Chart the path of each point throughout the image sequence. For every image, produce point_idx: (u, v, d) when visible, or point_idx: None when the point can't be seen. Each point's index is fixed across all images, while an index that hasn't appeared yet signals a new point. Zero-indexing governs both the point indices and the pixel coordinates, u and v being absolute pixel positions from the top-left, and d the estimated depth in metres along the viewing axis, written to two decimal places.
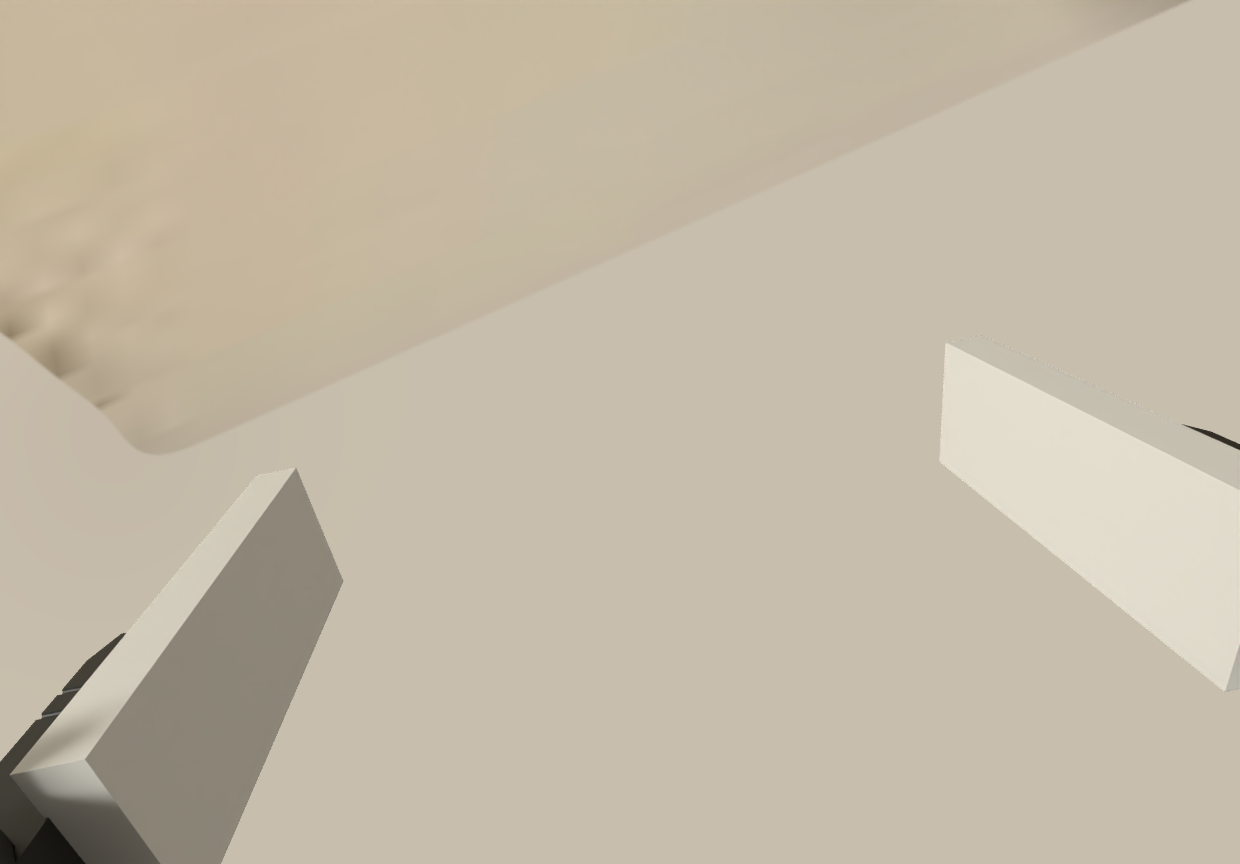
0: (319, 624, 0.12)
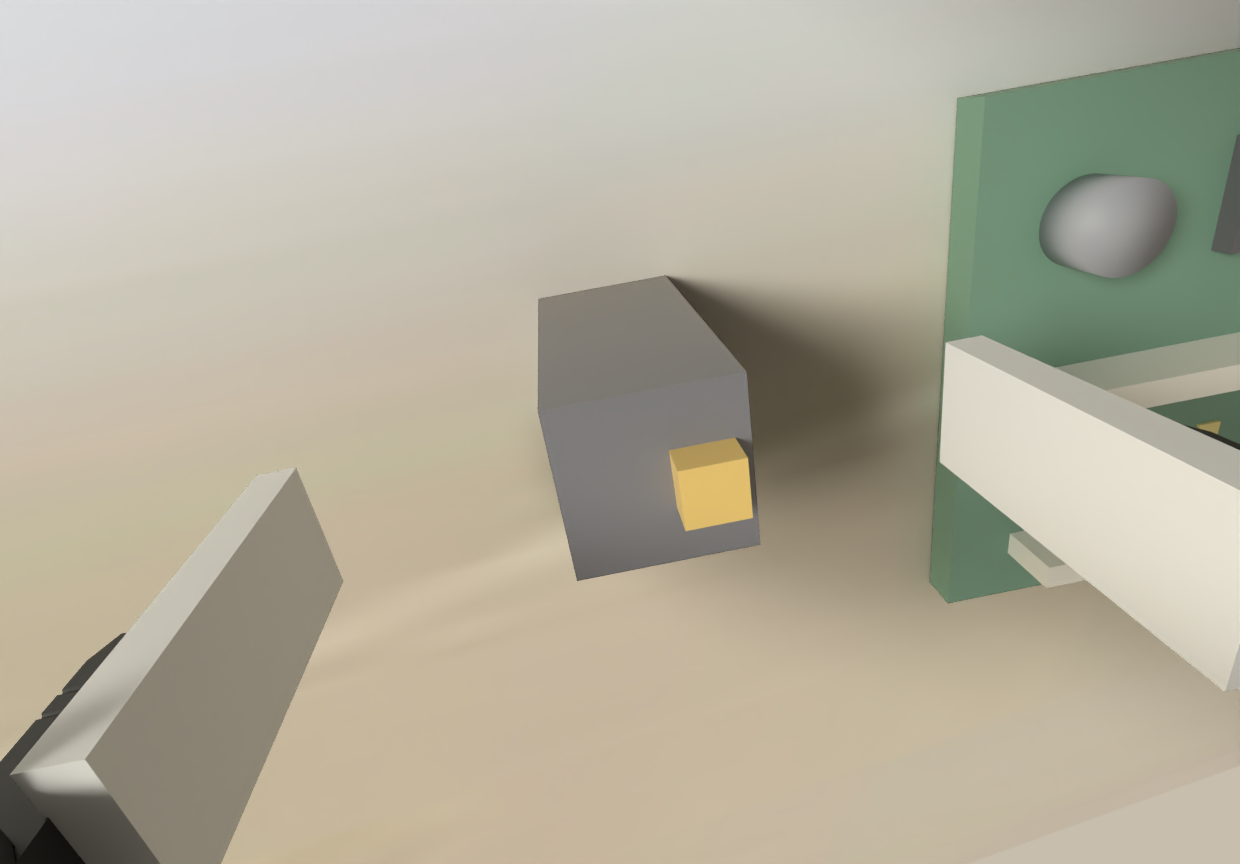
0: (319, 624, 0.12)
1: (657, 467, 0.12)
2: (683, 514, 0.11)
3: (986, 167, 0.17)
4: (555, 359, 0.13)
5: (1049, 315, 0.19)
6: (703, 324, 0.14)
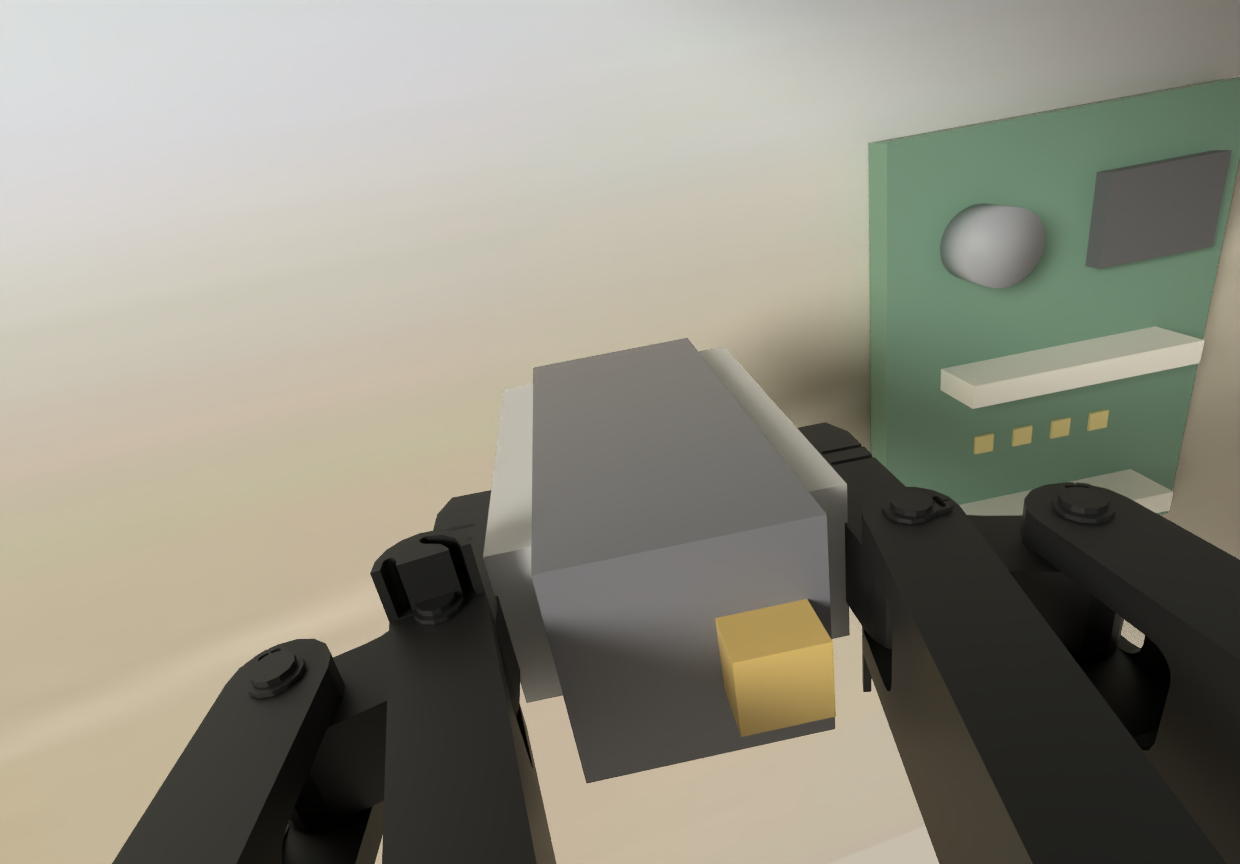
0: None
1: (698, 640, 0.08)
2: (738, 714, 0.08)
3: (892, 199, 0.21)
4: (555, 472, 0.10)
5: (954, 320, 0.23)
6: (748, 420, 0.11)
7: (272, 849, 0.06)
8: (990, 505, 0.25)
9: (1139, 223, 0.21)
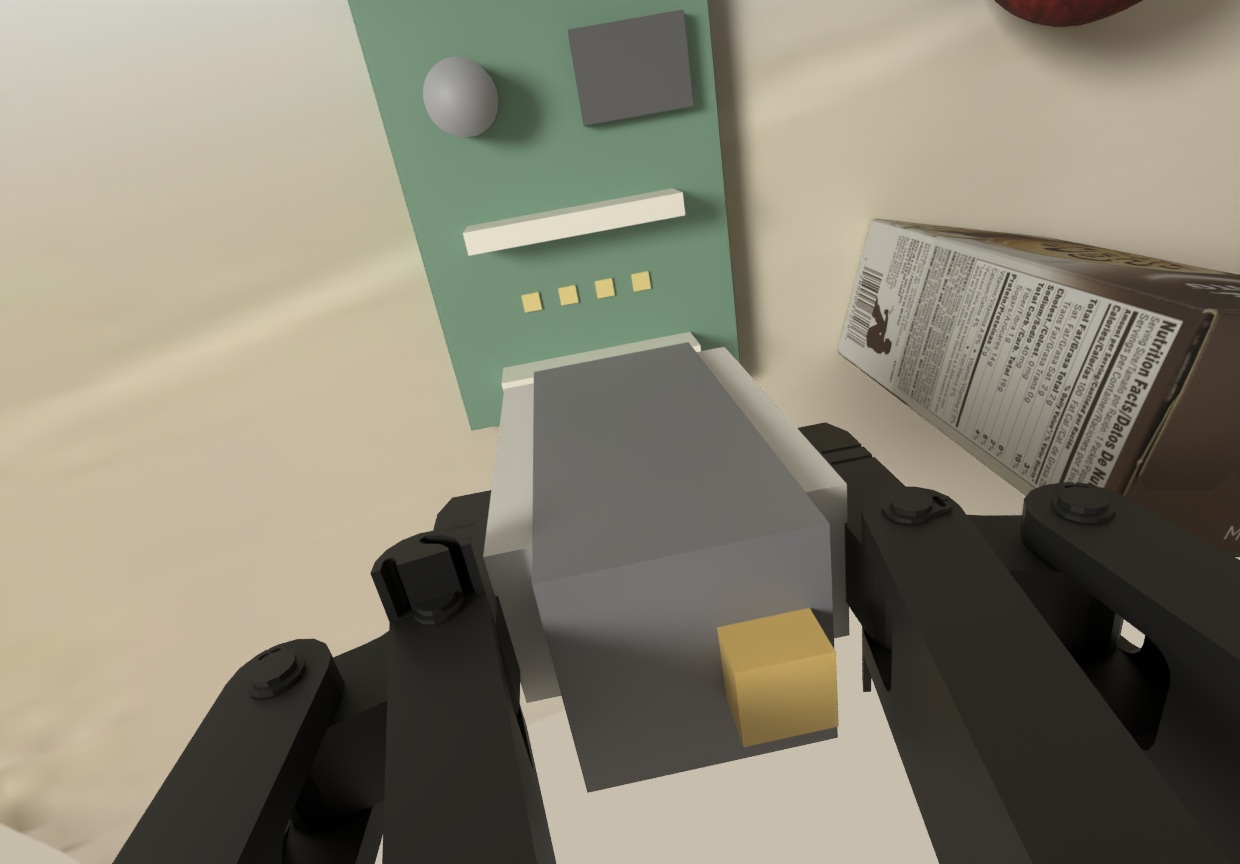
0: None
1: (700, 650, 0.08)
2: (740, 725, 0.08)
3: (368, 54, 0.23)
4: (556, 479, 0.10)
5: (466, 177, 0.25)
6: (749, 426, 0.11)
7: (273, 849, 0.06)
8: (548, 362, 0.27)
9: (611, 81, 0.23)
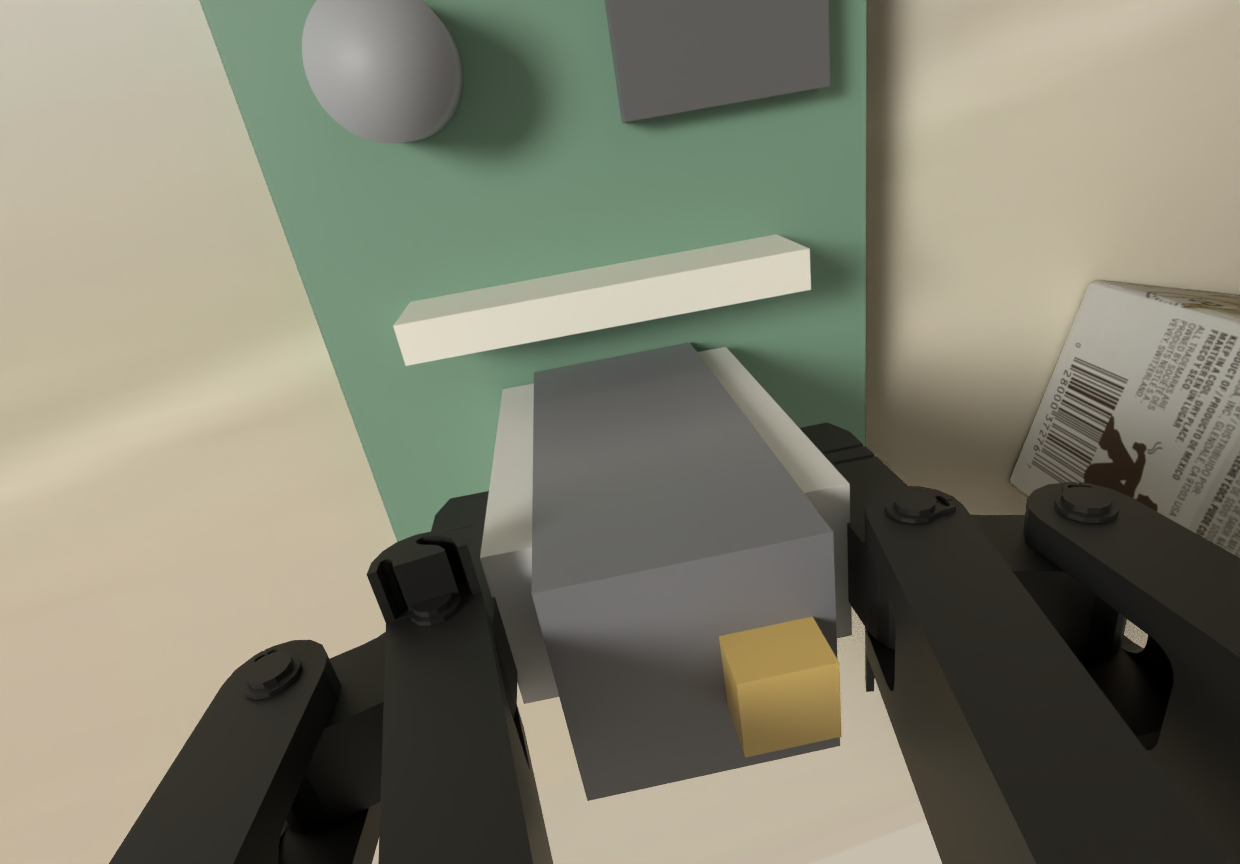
0: None
1: (702, 658, 0.08)
2: (742, 735, 0.08)
3: None
4: (556, 484, 0.10)
5: (406, 217, 0.13)
6: (752, 430, 0.11)
7: (267, 851, 0.06)
8: None
9: (680, 36, 0.12)
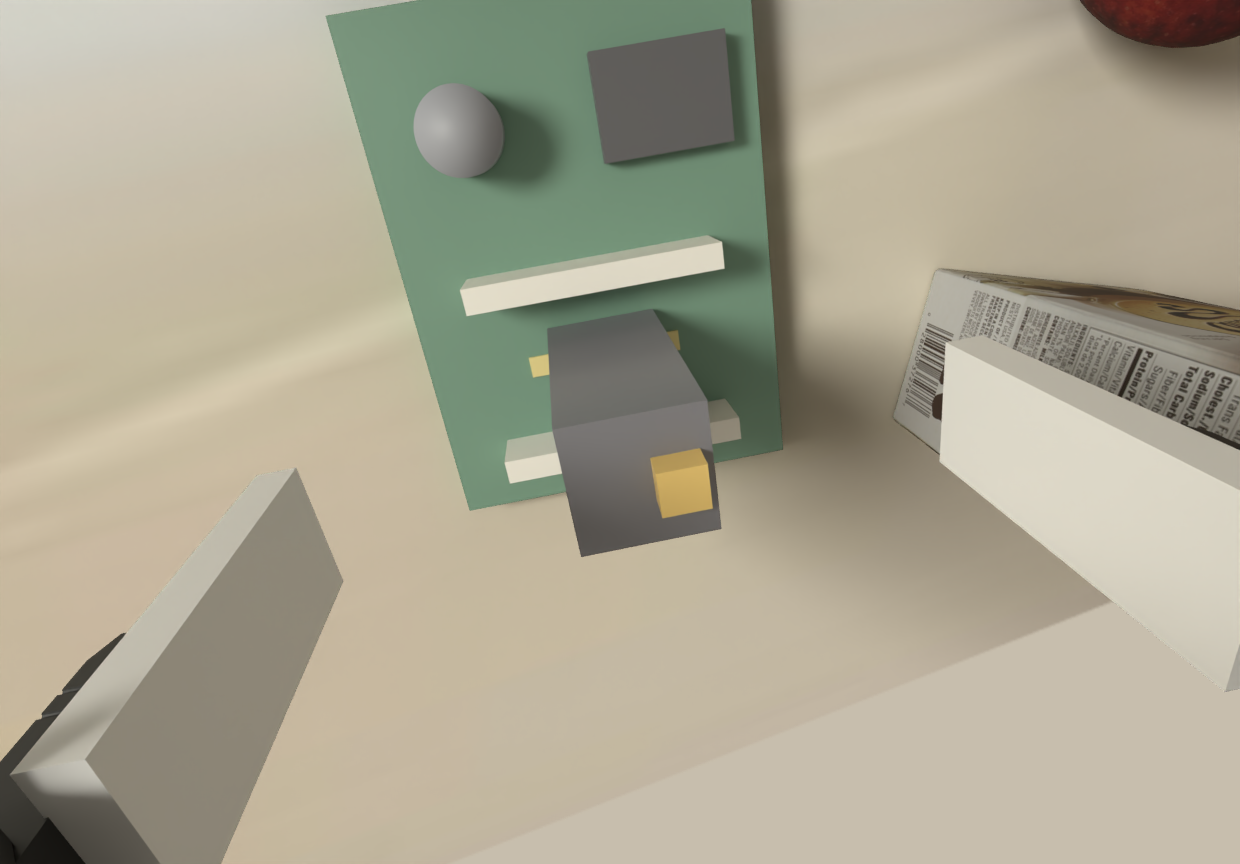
0: (319, 624, 0.12)
1: (641, 470, 0.16)
2: (660, 505, 0.15)
3: (351, 81, 0.19)
4: (563, 386, 0.17)
5: (466, 223, 0.21)
6: (679, 357, 0.18)
7: None
8: None
9: (638, 111, 0.20)
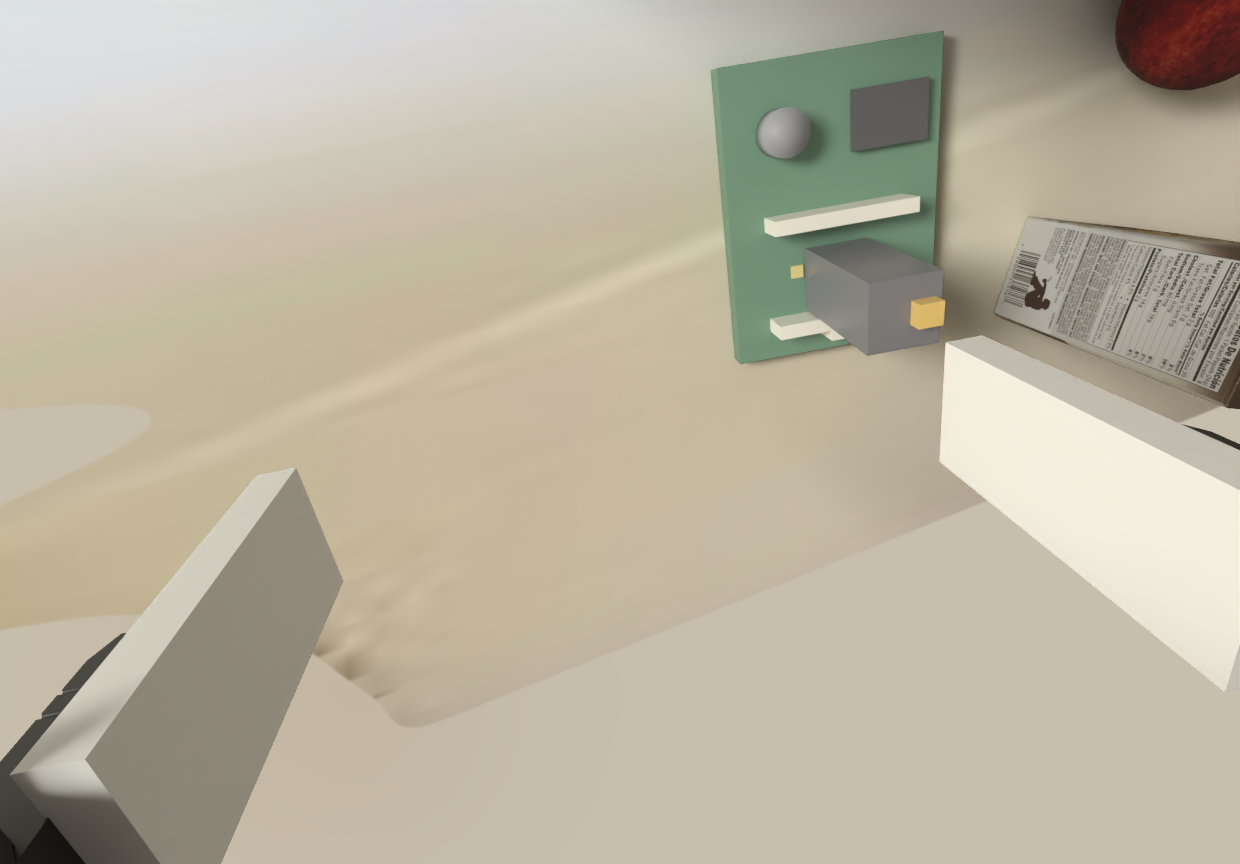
0: (319, 624, 0.12)
1: (906, 307, 0.31)
2: (918, 323, 0.31)
3: (722, 104, 0.34)
4: (853, 269, 0.33)
5: (769, 185, 0.36)
6: (909, 256, 0.33)
7: None
8: (804, 314, 0.39)
9: (877, 122, 0.35)
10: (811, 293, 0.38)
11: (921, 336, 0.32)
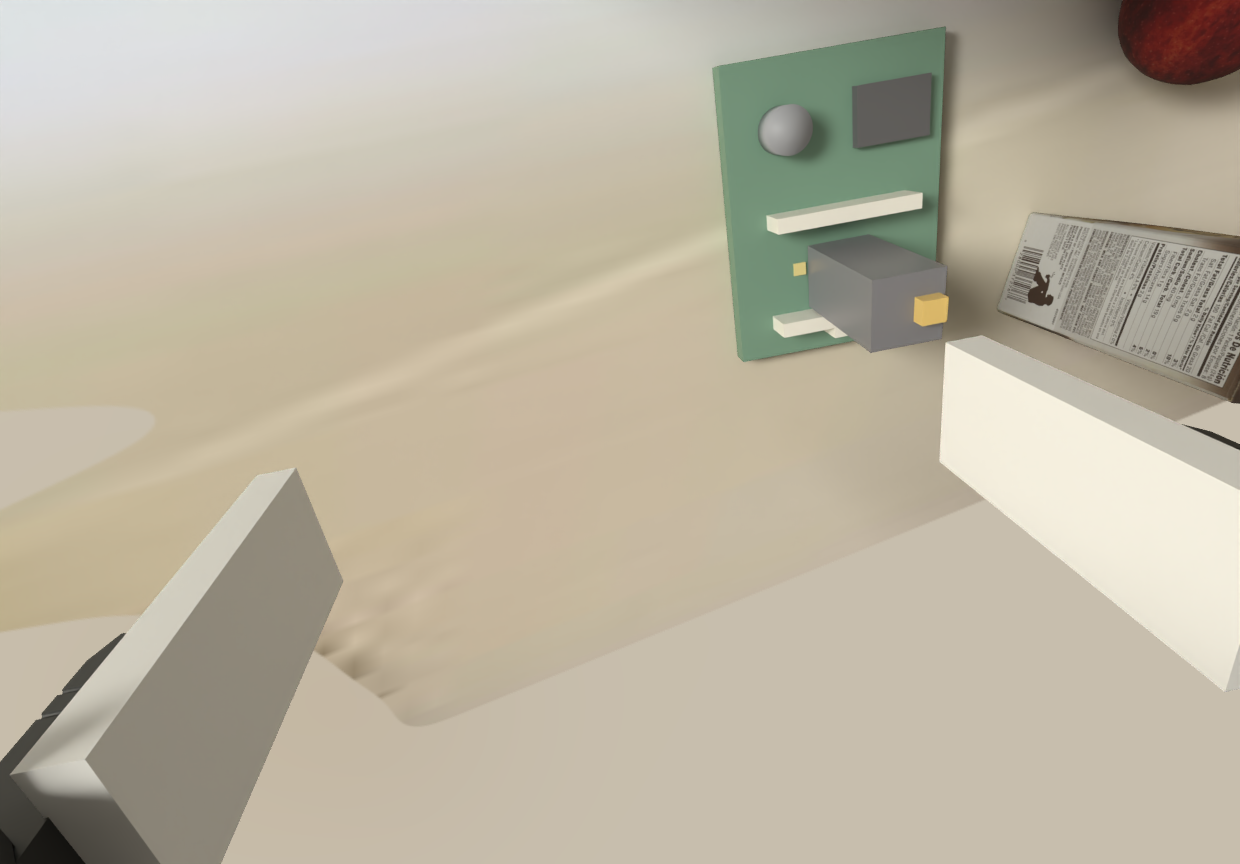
0: (319, 624, 0.12)
1: (909, 304, 0.31)
2: (922, 319, 0.31)
3: (724, 101, 0.34)
4: (856, 266, 0.33)
5: (771, 182, 0.36)
6: (912, 252, 0.33)
7: None
8: (806, 312, 0.39)
9: (879, 118, 0.35)
10: (813, 290, 0.38)
11: (924, 333, 0.32)
